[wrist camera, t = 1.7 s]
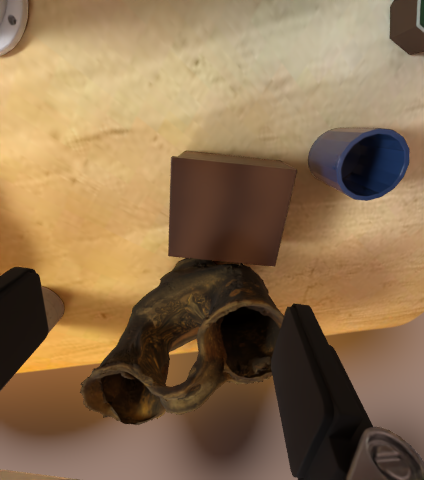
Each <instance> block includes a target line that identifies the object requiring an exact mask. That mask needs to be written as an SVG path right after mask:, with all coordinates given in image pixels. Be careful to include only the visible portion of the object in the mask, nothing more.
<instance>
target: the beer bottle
mask: <svg viewBox="0 0 424 480" xmlns="http://www.w3.org/2000/svg"><path fill="white" fill-rule="evenodd" d="M390 39H391V40H392V41H394V42H395V43H396V44H397V45H398V46H400V47H401V48H402V49H403V50H404V51H406V52H407V53H408V54H409V55H412V54H415V53H419V52H422V51H424V0H394V2H393V3H392V5H391V7H390Z"/></svg>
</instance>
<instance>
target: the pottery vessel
mask: <svg viewBox="0 0 424 480" xmlns="http://www.w3.org/2000/svg"><path fill="white" fill-rule="evenodd" d="M160 280H161V283H160V285H159V286H158V287H157V288H155V289H154V290H152V291H151V292H149V293H148V294H147V295H146V296H144V297H143V298H142V299H141V300H140V301H139V302H138V303H137V304H136V305H135V307H133V309H132V314H131V317H130V319H129V322H128V325H127V327H126V329H125V331H124V333H123V334H122V336H121V338H120V340H119V342H118V344H117V346H116V347H115V348H114V349H113V350H112V351H111V352H110V353H109V355H108V356H107V357H106V358H105V359H104V360H103V362H102V363H101V365H100V366H99V367H98V368H96V369H94V370H93V371H92V374H91V375H90V377H88V378H87V379H86V380H84V381H83V382H84V383H83V382H82V383H83V384H82V383H81V385H82V388H81V392H80V393H81V394H82V395H83V398H84V405H85V406H86V407H89V410H93V411H96V412H100V413H101V414H103V418H104V417H108V416H109V417H113V418H115V419H116V420H117V421H121V422H122V423H124V424H135V425H139V424H142V423H145V422H147V421H149V420H153V419H154V418H157V419H158V418H159V417H161V416H162V415H164V413H165V411H166V412H170V413H175V414H179V415H180V414H184V413H187V412H190V411H195V410H196V409H197V408H199V407H200V406H202V405H203V404H204V403H205V402H206V401H207V400H208V399H209V397H210V396H211V395H212V394H213V392H214V391H215V390H216V389H217V388H219V387H220V386H221V385H223V384H224V383H225V382H228V381H229V382H234V383H236V384H239V383H246V384H248V383H254V382H260V381H262V382H263V380H264V379H269V378H270V377H271V376H273V375H272V370H271V359H272V355H273V352H274V349H275V345H276V342H277V339H278V335H279V332H280V328H281V325H282V322H283V318H284V315H283V314H282V313H281V312H280V311H279V310H278V308H277V307H276V305H275V304H274V302H273V301H272V299H271V298H270V296H269V295H268V293H269V292H268V289H267V288H266V286H265V284H264V282H263V280H262V279H261V278H260V276H259V275H258V274H257V273H255V272H254V271H253V270H252V269H251V268H250V267H247V266H245V265H243V264H242V263H240V265H239V264H223V265H216V264H214V263H213V262H212V260H204V259H193V258H186V259H184V260H181V261H179V262H178V263H177V264H176V266H175V268H174V269H173V270H172V271H171V272H169V273H168V274H166V275H165V276H163V277H162V278H161V279H160ZM194 339H197V344H198V350H199V354H198V357H197V361H196V362H195V364H194V365H193V367H192V368H191V370H190V372H189V376H188V378H187V380H186V381H185V382H183V383H182V384H180V385H177V386H173V387H168V386H166V384H165V383H166V379H167V374H168V367H169V360H170V358H169V352H170V351H173V350H175V349H176V348H178V347H181V346H183V345H184V344H186V343H188V342H190V341H192V340H194Z"/></svg>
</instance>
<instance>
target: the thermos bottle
mask: <svg viewBox="0 0 424 480" xmlns="http://www.w3.org/2000/svg"><path fill="white" fill-rule="evenodd" d="M41 288H42V294H43V299H44V305H45V311H46V316H47V322H48V328H49V331H48V333H49V332H50V331H51V329H52V328H53V327H54V326H55V325H56V323H57V322H58V321H59V320H60V318H61V317H62V316H63V314H64V305H63V302H62V301H61V299H60V298H59V296H58V295H56V294H55V293H54V292H53V291H51V290H49V289H47V288H45V287H41ZM12 377H13V376H12ZM7 383H8V382H7ZM7 383H6V384H7ZM2 389H3V388H2ZM2 389H1V390H2ZM1 390H0V391H1Z"/></svg>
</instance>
